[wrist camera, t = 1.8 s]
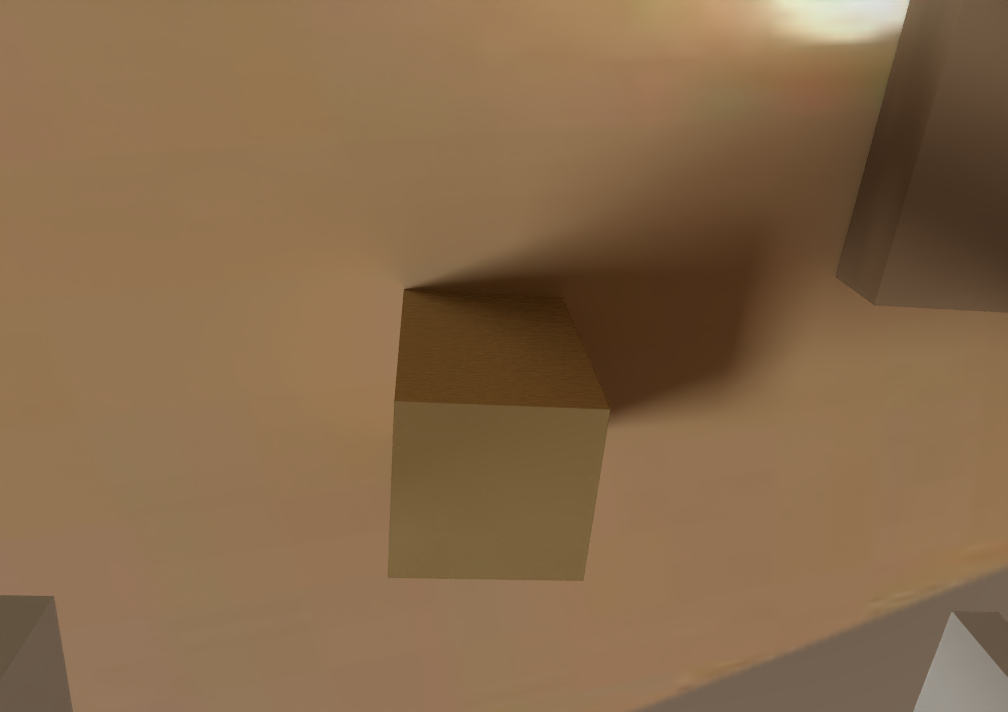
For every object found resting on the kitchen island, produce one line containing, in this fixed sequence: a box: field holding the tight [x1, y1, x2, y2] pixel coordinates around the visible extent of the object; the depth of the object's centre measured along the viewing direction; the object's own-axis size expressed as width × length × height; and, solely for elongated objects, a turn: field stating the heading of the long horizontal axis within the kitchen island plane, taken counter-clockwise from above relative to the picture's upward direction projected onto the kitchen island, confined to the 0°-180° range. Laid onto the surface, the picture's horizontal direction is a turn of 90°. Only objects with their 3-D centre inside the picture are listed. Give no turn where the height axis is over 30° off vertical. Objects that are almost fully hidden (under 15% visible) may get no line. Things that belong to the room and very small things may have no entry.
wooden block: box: [388, 289, 610, 581], centre depth 19 cm, size 4×4×6 cm
